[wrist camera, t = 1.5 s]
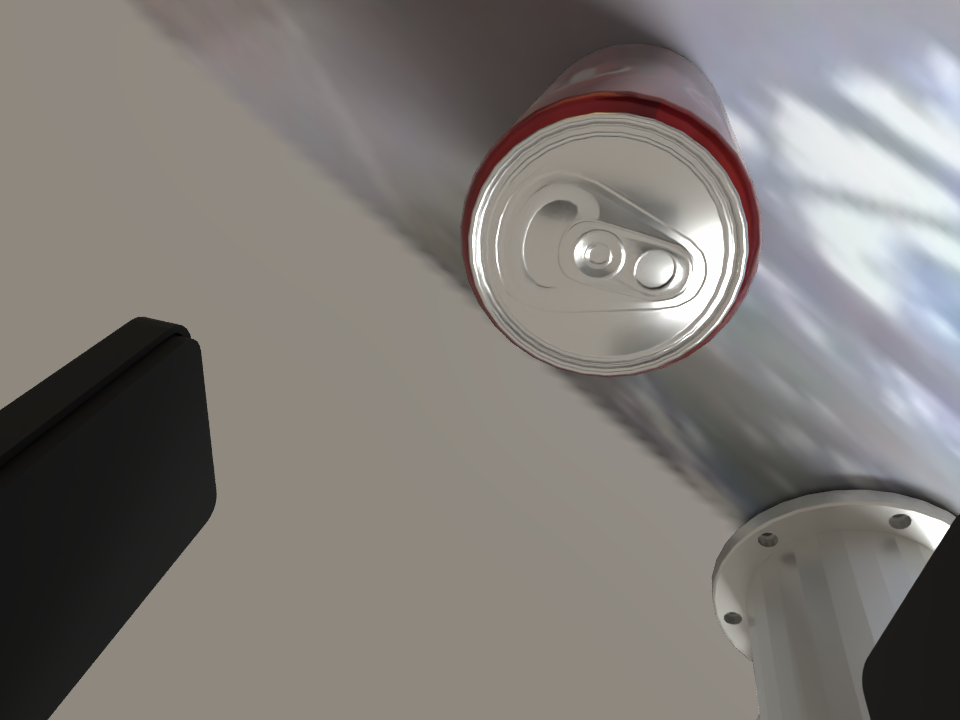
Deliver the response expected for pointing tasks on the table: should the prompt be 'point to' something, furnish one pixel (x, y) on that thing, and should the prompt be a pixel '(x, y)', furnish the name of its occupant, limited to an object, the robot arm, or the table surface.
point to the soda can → (614, 217)
